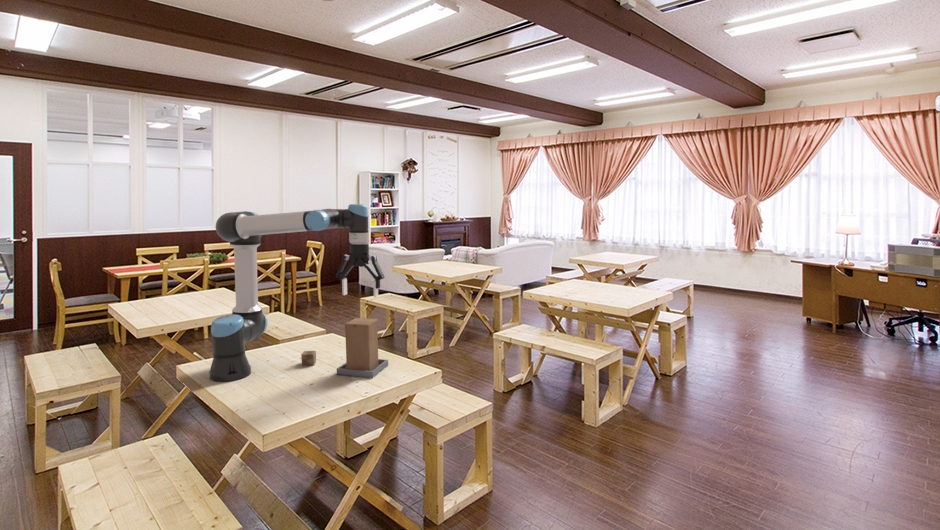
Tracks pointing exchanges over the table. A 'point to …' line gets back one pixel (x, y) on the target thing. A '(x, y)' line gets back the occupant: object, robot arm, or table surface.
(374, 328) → the wooden block
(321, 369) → the table surface
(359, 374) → the tray
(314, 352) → the walnut cube
